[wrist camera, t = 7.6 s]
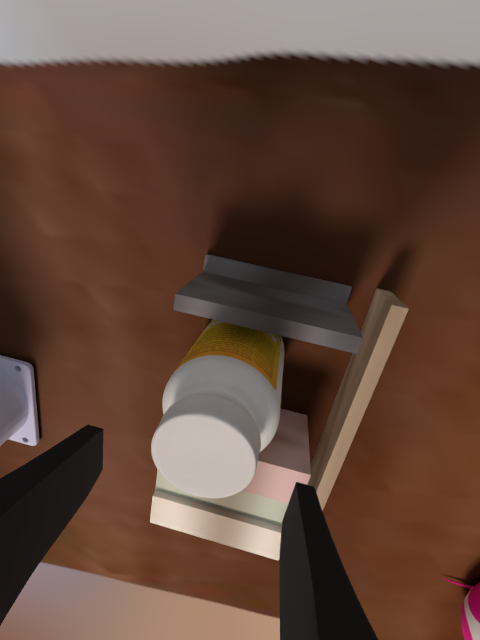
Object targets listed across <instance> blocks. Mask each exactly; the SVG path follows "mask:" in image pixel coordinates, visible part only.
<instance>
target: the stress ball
mask: <svg viewBox="0 0 480 640" xmlns="http://www.w3.org/2000/svg"><path fill="white" fill-rule="evenodd" d="M442 579H443V578H442ZM445 580H447V579H445ZM447 581H450V582H453V583H455V584H458V585H461V586H463V587H466V588H469V589H471V590H470V591H469V592H468V594H467V595H466V597H465V599H464V602H463V605H462V610H461V626H462V631H463V635H464V639H465V640H480V583H478V584H476V585H475V586H474V587H473V586H469V585H466V584H462V583H458V582H454V581H451V580H447Z"/></svg>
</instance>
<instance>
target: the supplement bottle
mask: <svg viewBox="0 0 480 640" xmlns="http://www.w3.org/2000/svg"><path fill="white" fill-rule="evenodd" d="M283 367H284V344H283V340H282V337H281V336H280V335H276V334H272V333H267V332H263V331H259V330H255V329H251V328H247V327H242V326H238V325H234V324H230V323H226V322H222V321H217V320H212V321H211V322H210V323H209V324H208V326H207V327H206V328H205V330H204V331H203V332H202V334H201V335H200V336H199V338H198V339H197V341H196V342H195V344H194V345H193V346H192V348H191V349H190V350H189V352H188V353H187V355H186V356H185V358H184V359H183V360H182V362H181V363H180V365H179V366H178V367H177V369H176V370H175V371H174V372H173V374H172V375H171V377H170V379H169V381H168V383H167V385H166V388H165V391H164V395H163V405H162V406H163V414H164V415H163V417H162V420H161V422H160V423H159V425H158V427H157V429H156V431H155V433H154V435H153V439H152V444H151V451H152V457H153V460H154V463H155V465H156V467H157V469H158V470H159V471H160V473H161V474H162V475H163V477H164V478H165V479H166V480H168V481H169V482H170V483H171V484H173V485H174V486H175V487H177V488H178V489H180V490H182V491H184V492H186V493H189V494H191V495H194V496H199V497H205V498H224V497H228V496H232V495H234V494H236V493H238V492H240V491H242V490H243V489H244V488H246V487H247V486H248V485H249V483H250V482H251V481H252V479H253V477H254V475H255V472H256V468H257V462H258V456H259V453H260V452H261V451H262V450H263V449H264V448H265V447H266V446H267V445H268V444H269V443H270V442H271V440H272V439H273V437H274V435H275V433H276V431H277V428H278V424H279V419H280V408H281V393H282V378H283Z"/></svg>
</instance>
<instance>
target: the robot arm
mask: <svg viewBox="0 0 480 640" xmlns="http://www.w3.org/2000/svg"><path fill="white" fill-rule="evenodd" d="M8 439H10V440H13V441H17V442H20V443H24V444H27V445H31V446H35V445H36V444H37V443H38V442H39V428H38V416H37V404H36V392H35V380H34V369H33V366H32V365H31V364H30V363H28V362H24V361H21V360H17V359H13V358H9V357H5V356H2V355H0V445H2V444H3V443H4V442H5V441H6V440H8ZM102 469H103V429H102V428H98V427H94V426H91V425H87V426H85V427H83V428H82V429H80V430H79V431H77V432H75V433H74V434H72V435H71V436H69V437H68V438H66V439H65V440H63V441H61V442H60V443H58V444H57V445H55V446H54V447H52V448H50V449H49V450H47V451H46V452H44V453H42V454H41V455H39V456H38V457H36V458H34V459H33V460H31V461H29V462H28V463H26V464H25V465H23V466H21V467H20V468H18V469H16V470H14V471H13V472H11V473H9V474H7V475H5V476H4V477H2V478H0V625H1V623H2V622H3V620H4V618H5V617H6V615H7V613H8V612H9V610H10V608H11V607H12V605H13V603H14V602H15V600H16V599H17V597H18V595H19V594H20V592H21V590H22V589H23V587H24V585H25V584H26V582H27V581H28V579H29V577H30V576H31V575H32V573H33V572H34V570H35V569H36V567H37V566H38V564H39V563H40V561H41V560H42V559H43V557H44V556H45V555H46V553H47V552H48V550H49V549H50V548H51V546H52V545H53V543H54V542H55V541H56V539H57V538H58V537H59V535H60V534H61V532H62V531H63V530H64V528H65V527H66V526H67V524H68V523H69V521H70V520H71V519H72V517H73V516H74V514H75V513H76V512H77V510H78V509H79V507H80V506H81V505H82V503H83V502H84V500H85V499H86V497H87V496H88V494H89V492H90V491H91V489H92V487H93V486H94V484H95V482H96V480H97V478H98V477H99V475H100V473H101V471H102ZM280 640H378V638H377V636H376V634H375V632H374V631H373V629H372V627H371V625H370V623H369V621H368V619H367V617H366V615H365V613H364V611H363V609H362V607H361V604H360V602H359V600H358V598H357V596H356V594H355V592H354V589H353V587H352V585H351V583H350V580H349V578H348V576H347V574H346V571H345V569H344V567H343V564H342V562H341V559H340V557H339V554H338V552H337V549H336V547H335V544H334V542H333V539H332V537H331V534H330V531H329V529H328V526H327V523H326V520H325V517H324V515H323V512H322V509H321V506H320V502H319V499H318V496H317V493H316V489H315V488H314V486H310V485H306V484H303V483H299V482H296V484H295V487H294V489H293V492H292V495H291V498H290V501H289V503H288V506H287V509H286V512H285V515H284V517H283V520H282V531H281V542H280Z"/></svg>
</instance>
